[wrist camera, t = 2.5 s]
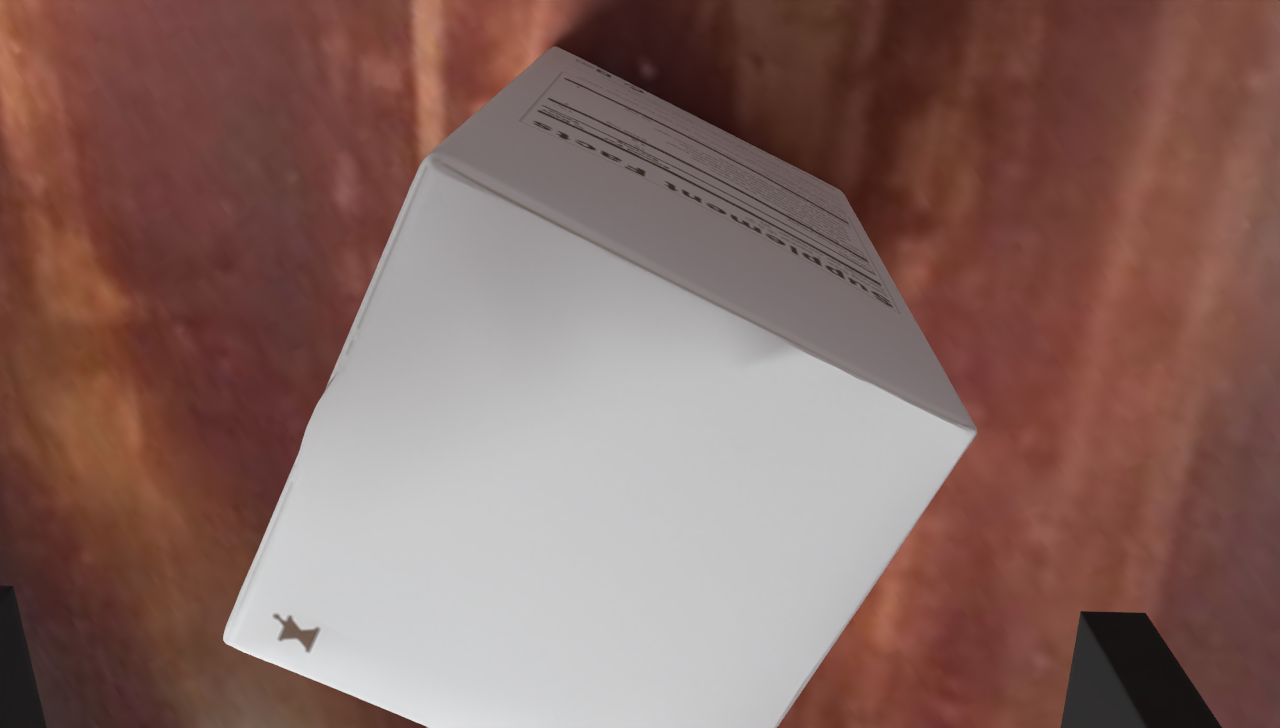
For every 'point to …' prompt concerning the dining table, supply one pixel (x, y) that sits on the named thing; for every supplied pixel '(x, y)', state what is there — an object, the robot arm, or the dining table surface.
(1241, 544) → the dining table surface
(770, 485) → the rectangular carton
